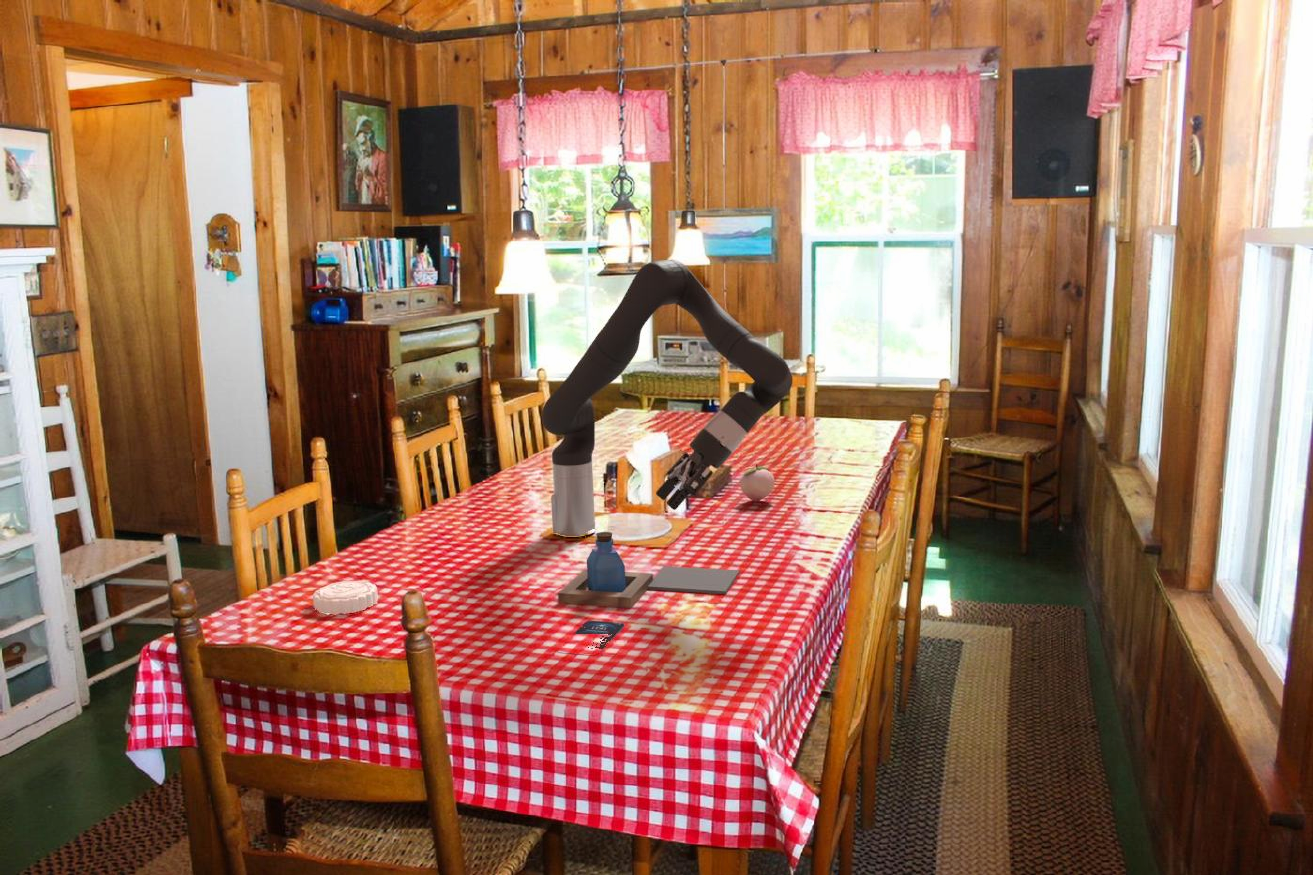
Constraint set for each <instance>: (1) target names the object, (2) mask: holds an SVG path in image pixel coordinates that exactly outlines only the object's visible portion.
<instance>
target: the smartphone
mask: <svg viewBox="0 0 1313 875" xmlns="http://www.w3.org/2000/svg"><path fill="white" fill-rule="evenodd" d="M586 621H587V622H586ZM586 621H585V623H584V624H581V625H582V626H583V627H580V626H579V627H580V628H579V627H578V628H579V629H578V628H577V629H578V630H577V629H576V630H577V631H576V630H575V631H576V632H575V631H574V632H575V633H576V634H608V635H611V634H612V635H611V636H610V637H605V638H604V639H603V640H602V641H605V639H607V640H606V642H601V641H600V642H601V644H604V643H605V644H604V645H601V644H600V647H597V646H596V647H595V648H599V649H603V648H604V647H605V645H606V643H607V642H608V641H609V642H610V640H612V641H613V640H614V638H615V637H616V636H617V635H619V634H620V632H621V631H622V630H623V629H624V628H625V624H624V623H623V622H614V621H613V622H612V621H604V620H586ZM584 627H585V628H584ZM623 627H624V628H623ZM622 628H623V629H622ZM575 633H572V634H575ZM616 634H617V635H616ZM615 635H616V636H615ZM614 636H615V637H614ZM602 637H604V636H602ZM613 637H614V638H613ZM600 639H602V638H600ZM593 643H594V642H593ZM610 643H611V642H610ZM597 644H598V643H597ZM597 644H596V645H597ZM607 644H608V643H607ZM608 645H609V644H608ZM592 646H593V645H592ZM588 648H589V647H588ZM605 648H606V647H605ZM605 648H604V649H605ZM591 649H593V648H591ZM604 649H603V650H604Z"/></svg>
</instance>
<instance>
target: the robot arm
mask: <svg viewBox="0 0 1313 875" xmlns="http://www.w3.org/2000/svg"><path fill="white" fill-rule="evenodd" d="M674 304H675V305H677V306H679V307H680V308H682V309H684V310H685V311H686V312H688V313H689V314H690V315H691V316H692V317H694V319H695V321H696V322H697V323H698V325H699V327H700V328H701V331H702V333H703V336H704V337H705V339H706V340H707V342H708V343H709V344H710V345H711V346H712V347H713V349H715V351H717V352H718V354H720V355H721V356H722V357H723V358H724V359H725V360H727V361H728V362H729V363H731V365H733V366H735V367H736V368H739V369H741V370H742V371H743V372H744V373H746V375H748V376H749V377H750V378H751V379H752V380H753V382H752V383H751V384H750V385H749V386H748V387H747V388H746V389H745V390H744V391H738V392H735V394H733V395H732V396H731V397H730V399H729V400H728V401H727V402H726V403H724V404H725V405H724V406H723V407H721V409H720V410H719V411H718V412H717V413H716V414H715V415H714V416H713V417H711V419H710V420H709V421H708V422H707V423H706V424H705V425H704V426H703V428H702V429H701V430H700V431H699V432H698V434H697V435H696V436H695V437H694V438H693V439H692V440H691V441H690V442H689V446H690V449H692V450H693V452H692V453H691V454H689V453H688V452H686V451H685V452H684V453H683V454H682V455H681V456H680V457H679V458H678V459H677V461H675V463H674V464H673V465H672V466H671V467H670V469H669V470H668V471H667V472H666V475H667V476H666V480H665V481H664V482H663V483H662V484H661V486H660V487H659V488H658V489H657V490H656V491H655V494H656V496H657V497H658V498H660V499H661V500H662V501H664V500H666V499H667V497H668V496H669V499H667V501H666V505H667V506H669V508H671V509H672V510H674V511H675V510H678V508H679V507H680V506H681V504H682V503H683V502H684V501H685V500H686V499H687V497H691V496H693V497H694V496H696V495H697V493H698V492H699V491H700V489H702V487H703V486H704V485H706V483H707V482H708V480H709V479H710V478H711V476H712V475H713V474H714V471H712V470H711V469H710V467H712V468H713V469H717V470H718V469H720V468H721V467H722V466H723V464H724V463H725V462H726V461H727V460H728V458H730V456H731V455H732V454H733V452H735V450H736V449H737V448H738V447H739V446H740V445H741V443H742V442H743V440H744V439H745V437H746V436H747V435H748V433H749V432H750V431H751V430H752V428H754V426H756V424H757V423H758V422H759V420H760V419H761V418H762V417H763V416H764V415H766V413H768V412H769V411H771V409H773V408H774V407H775V406H777V405H778V404H779V403H780V402H781V401H782V400H783V399H784V398H785V397H786V396H787V394H788V393H789V392H790V390H791V388H792V386H793V381H794V380H793V375H792V373H791V370H790V367H789V365H788V363H787V362H786V360H785V359H784V358H783V357H782V356H781V355H780V354H778V353H777V352H776V351H774V350H773V349H772V348H770V347H768V346H767V345H766V344H764V343H762V342H761V341H759V340H758V339H757V338H756V337H755V336H754V335H753V334H752V333H751V332H750V331H748V330H747V329H746V328H745V327H744V326H742V325H741V324H740V323H739V322H738V321H737V320H736V319H734V317H732V316H731V315H730V314H729V313H727V312H726V310H725V309H723V307H722V306H721V305H720V304H719V303H718V302H717V301H716V299H715V298H713V296H712V294H710V292H708V290H707V289H706V288H705V287H704V286H703V284H702V283H701V282H700V281H699V280H698V278H697V277H696V276H695V275H694V274H693V272H692V271H691V270H690V269H689V267H687V266H686V265H685V264H684V263H683V262H681V261H679V260H675V259H663V260H655V261H650V262H648V263H645V264H644V265H643V266H641V268H640V269H639V270H638V271H637V272H636V274H635V276H634V278H633V279H632V282H631V283H630V285H629V286H628V288H627V291H626V292H625V294H624V296H623V297H622V300H621V301H620V303H619V304H618V306H617V308H616V309H615V311H613V313H612V315H610V317H609V319H608V320H607V321H606V323H605V324H604V325H603V327H602V329H600V331H599V332H598V333H597V335H596V337H595V338H594V339H593V340H592V342H591V343H590V345H589V347H588V348H587V350H586V351H585V352H584V354H583V355H582V357H581V358H580V360H579V361H578V362H577V363H576V365H575V366H574V368H572V371H571V372H570V374H569V375H568V376H567V377H566V379H565V380H564V381H563V382H562V383H561V384H560V385H559V386H558V388H556V390H554V392H552V394H551V395H550V396H549V397H548V399H546V402H545V403H544V404H543V408H542V413H541V421H542V425H543V427H544V429H545V430H546V431H547V432H548V433H550V434H552V435H555V436H563V438H562V441H561V442H560V443H559V444H558V445H557V446H556V447H555V448H554V449H553V450H552V453H551V460H552V461H551V462H552V476H553V477H552V479H553V494H551V496H550V501H551V503H550V505H551V506H550V507H551V522H552V534H553V533H558V534H560V535H565V536H580V535H584V534H586V532H588V531H590V530H592V529H595V530H596V521H595V520H596V518H595V514H596V513H595V496H594V492H595V491H594V474H593V473H594V472H593V452H594V449H595V444H596V443H595V440H596V438H595V436H596V435H595V434H596V430H595V428H596V427H595V426H596V424H595V423H596V422H595V420H596V419H595V409H594V404H593V402H592V400H591V398H592V397H593V396H594V395H596V394H597V393H598V392H600V391H601V390H603V389H604V388H605V387H607V386H609V385H610V384H611V383H612V382H614V381H615V380H616V379H617V378H618V377H619V376H620V375H622V373H623V372H624V371H625V370H626V368H627V367H628V365H630V363H631V362H632V361H633V359H634V357H635V356H636V354H637V351H638V349H639V346H640V340H641V339H640V338H641V331H642V329H643V327H644V326H645V325H646V323H647V322H648V320H649V319H650V318H651V317H652V316H653V314H654V313H655V312H656V311H657V310H658V309H659V308H661V307H663V306H668V305H674ZM677 486H679V487H678V488H676V487H677ZM675 489H676V490H675ZM674 490H675V492H674V493H673V494H672V495H671V496H670V494H671V493H672V492H673V491H674Z"/></svg>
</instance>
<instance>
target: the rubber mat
mask: <svg viewBox="0 0 1313 875" xmlns="http://www.w3.org/2000/svg"><path fill="white" fill-rule="evenodd" d="M739 575H740V570H738V569H737V570H735V569H721V568H719V569H718V568H701V567H688V566H687V567H685V566H684V567H683V566H667V565H664V566H663V567H662V568H661V569H660V570H659V571H658V572H657V573H656V574H655V576H653V581H652V582H651V583H650V584H649V585H648V590H653V591H669V592H682V593H683V592H686V593H697V594H699V593H700V594H717V595H719V594H720V595H726V594H727V593H728V591H729V590H730V588H731V587H732V586H733V584H734V583H735V581H736V580H737V578H738V576H739Z"/></svg>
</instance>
